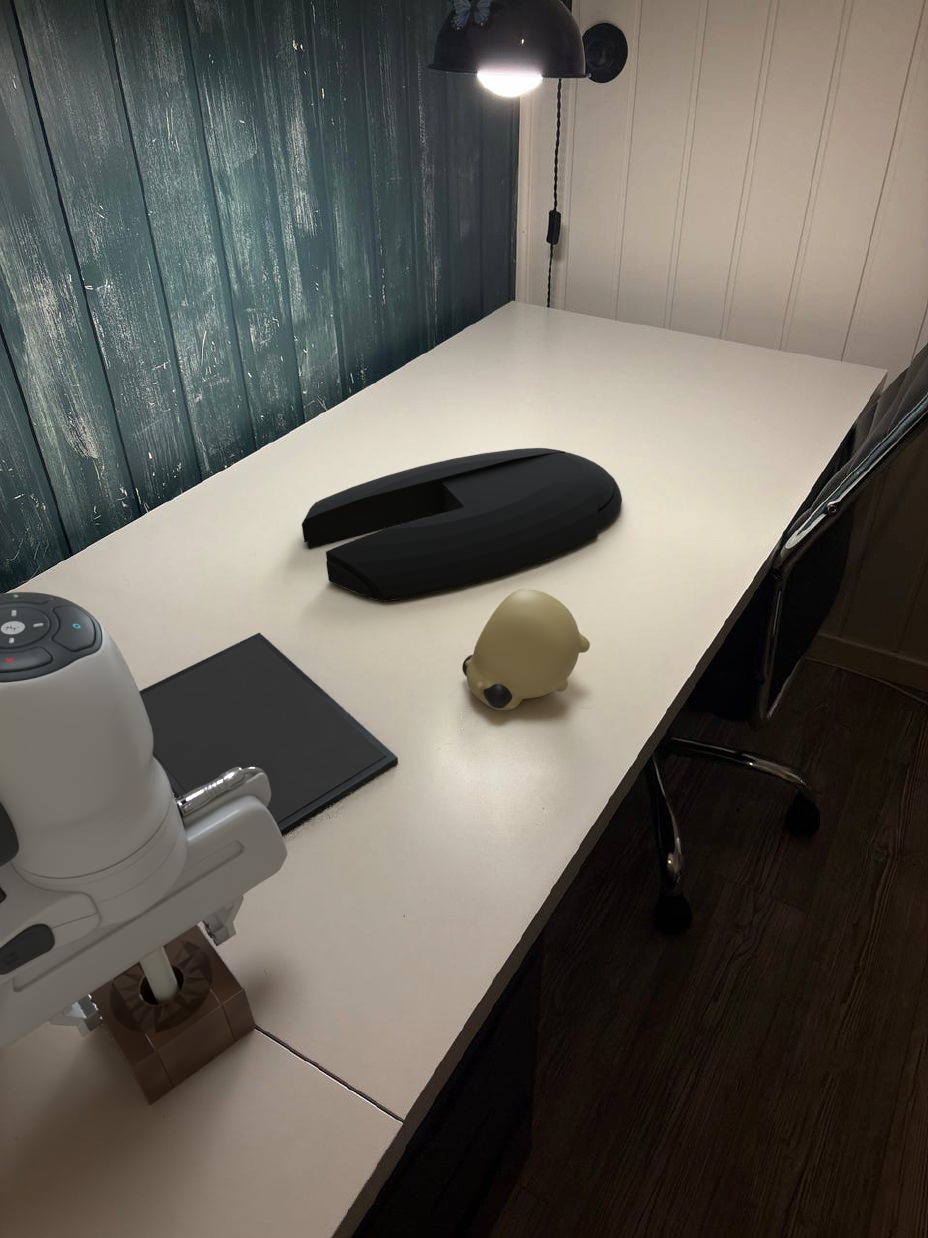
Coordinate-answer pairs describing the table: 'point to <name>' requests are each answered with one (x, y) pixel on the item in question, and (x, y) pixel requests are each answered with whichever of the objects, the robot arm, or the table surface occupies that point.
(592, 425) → the table surface
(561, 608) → the toy pig
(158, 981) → the stylus
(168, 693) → the tablet
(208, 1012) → the pen block
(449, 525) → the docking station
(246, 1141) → the table surface
